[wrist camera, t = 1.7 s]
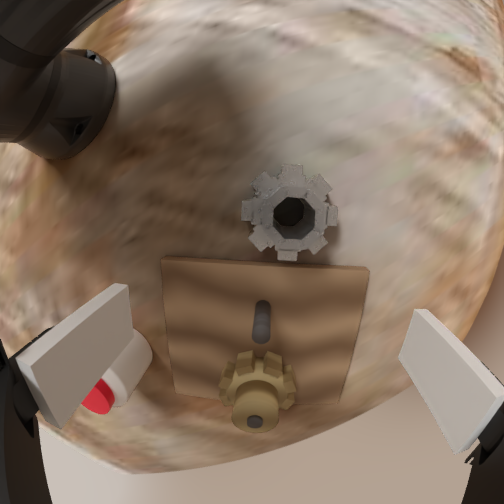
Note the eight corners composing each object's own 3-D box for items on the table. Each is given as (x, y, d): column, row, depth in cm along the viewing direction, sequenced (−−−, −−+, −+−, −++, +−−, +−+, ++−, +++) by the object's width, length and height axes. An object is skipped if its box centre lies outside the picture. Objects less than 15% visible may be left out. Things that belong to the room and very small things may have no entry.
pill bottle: (160, 370, 33) (129, 425, 23) (116, 368, 34) (81, 415, 23) (142, 322, 32) (99, 372, 21) (97, 323, 32) (51, 365, 22)
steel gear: (246, 164, 26) (238, 158, 20) (333, 170, 26) (353, 166, 19) (243, 250, 28) (234, 270, 22) (326, 255, 28) (343, 276, 21)
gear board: (165, 255, 29) (127, 284, 20) (365, 266, 28) (399, 299, 19) (178, 386, 34) (158, 432, 25) (335, 396, 33) (347, 444, 24)
